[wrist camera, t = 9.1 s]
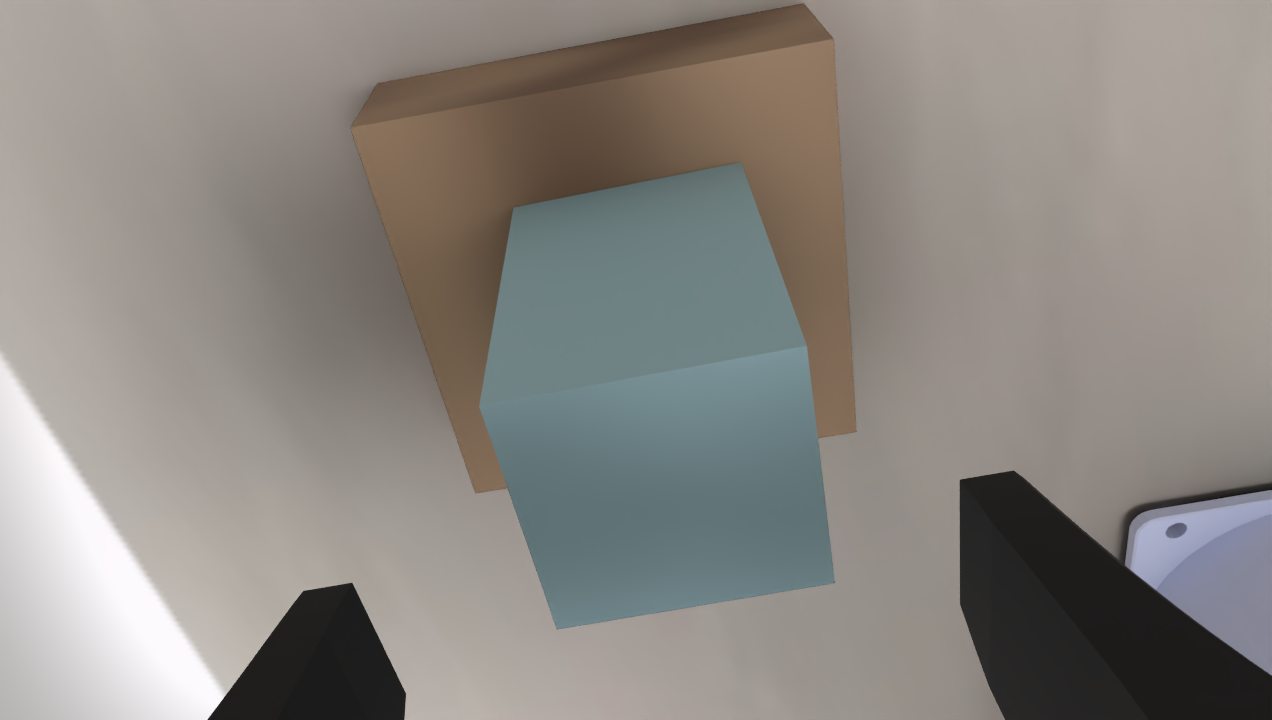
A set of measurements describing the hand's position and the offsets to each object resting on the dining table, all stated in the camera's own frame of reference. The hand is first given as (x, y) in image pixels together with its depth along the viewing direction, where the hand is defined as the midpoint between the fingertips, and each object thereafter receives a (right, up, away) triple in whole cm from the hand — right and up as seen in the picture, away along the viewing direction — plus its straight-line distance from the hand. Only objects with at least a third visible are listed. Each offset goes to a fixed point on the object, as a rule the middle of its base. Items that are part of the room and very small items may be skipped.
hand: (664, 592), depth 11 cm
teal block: (0, +4, +6) cm, 7 cm away
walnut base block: (-1, +6, +9) cm, 11 cm away
